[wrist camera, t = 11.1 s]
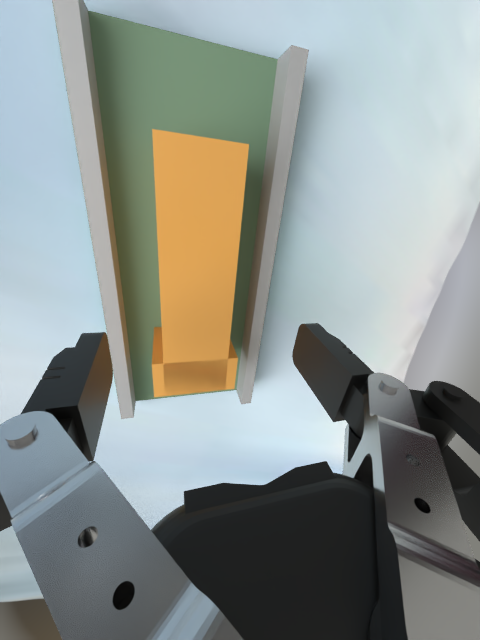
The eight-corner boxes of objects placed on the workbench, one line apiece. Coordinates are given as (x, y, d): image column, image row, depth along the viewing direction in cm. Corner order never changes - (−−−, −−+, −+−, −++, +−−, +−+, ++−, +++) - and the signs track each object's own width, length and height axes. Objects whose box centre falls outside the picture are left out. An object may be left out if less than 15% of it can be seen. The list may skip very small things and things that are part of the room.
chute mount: (59, 12, 13) (34, -27, 10) (293, 70, 16) (316, 52, 14) (120, 395, 25) (115, 419, 23) (247, 382, 29) (255, 402, 26)
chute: (142, 139, 15) (133, 125, 11) (238, 153, 17) (263, 146, 13) (156, 356, 23) (154, 397, 19) (222, 351, 24) (234, 388, 20)
